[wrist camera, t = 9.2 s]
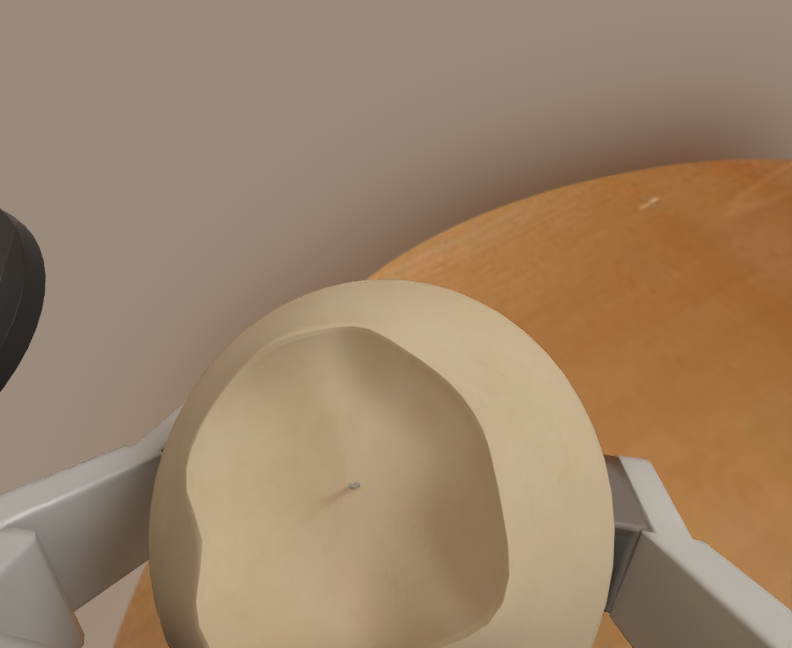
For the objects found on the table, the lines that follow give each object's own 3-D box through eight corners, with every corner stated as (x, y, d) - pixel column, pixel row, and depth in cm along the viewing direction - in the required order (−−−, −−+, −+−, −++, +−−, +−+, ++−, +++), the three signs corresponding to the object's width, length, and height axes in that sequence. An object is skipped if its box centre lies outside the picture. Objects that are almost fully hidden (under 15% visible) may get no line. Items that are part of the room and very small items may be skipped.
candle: (542, 472, 12) (818, 430, 3) (432, 636, 11) (373, 1321, 2) (402, 365, 14) (324, 140, 5) (294, 498, 13) (-77, 529, 4)
